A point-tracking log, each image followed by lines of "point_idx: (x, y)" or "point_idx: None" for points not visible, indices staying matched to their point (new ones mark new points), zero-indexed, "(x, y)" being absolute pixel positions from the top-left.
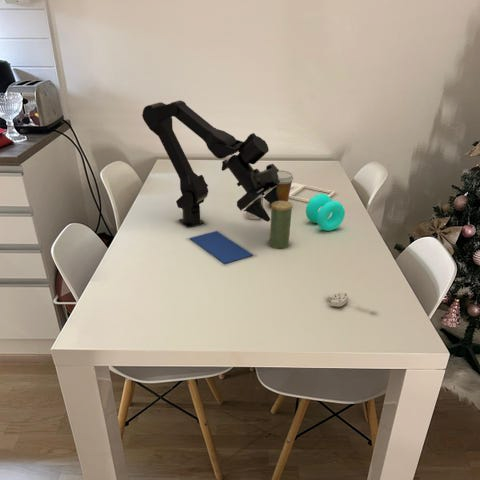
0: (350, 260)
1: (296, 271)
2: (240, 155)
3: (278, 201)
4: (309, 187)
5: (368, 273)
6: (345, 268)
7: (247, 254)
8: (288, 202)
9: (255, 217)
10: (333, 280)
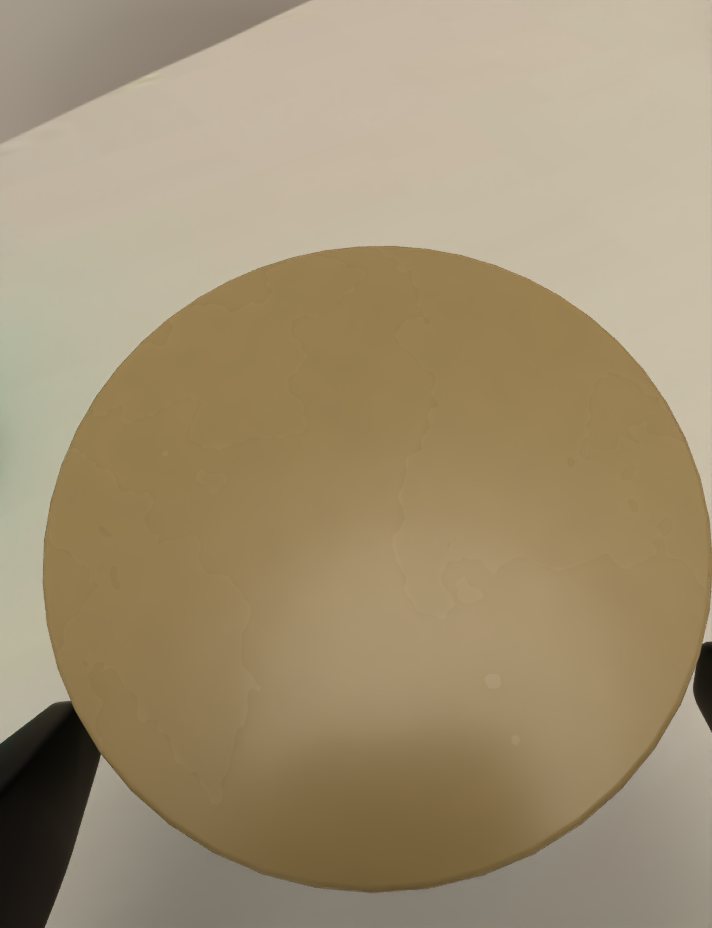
0: (313, 157)
1: (691, 301)
2: None
3: (173, 729)
4: None
5: (400, 59)
6: (426, 139)
7: None
8: (108, 422)
9: None
10: (604, 125)
